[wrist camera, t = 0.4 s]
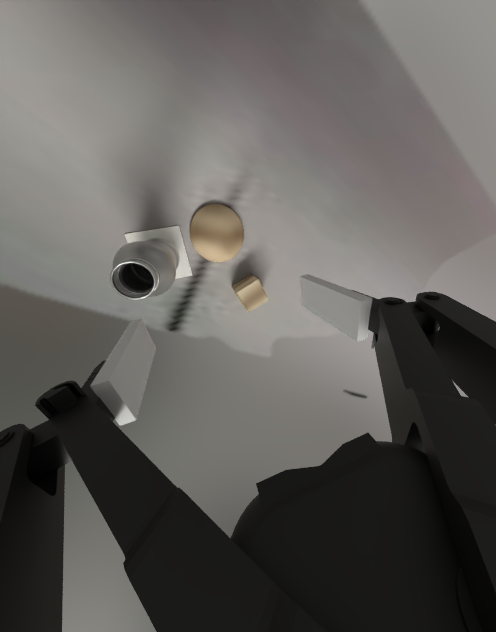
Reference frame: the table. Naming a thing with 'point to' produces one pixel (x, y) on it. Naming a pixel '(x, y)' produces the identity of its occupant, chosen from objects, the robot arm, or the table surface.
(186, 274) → the card
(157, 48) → the table surface
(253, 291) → the oak block
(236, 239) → the cork coaster
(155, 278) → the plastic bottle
